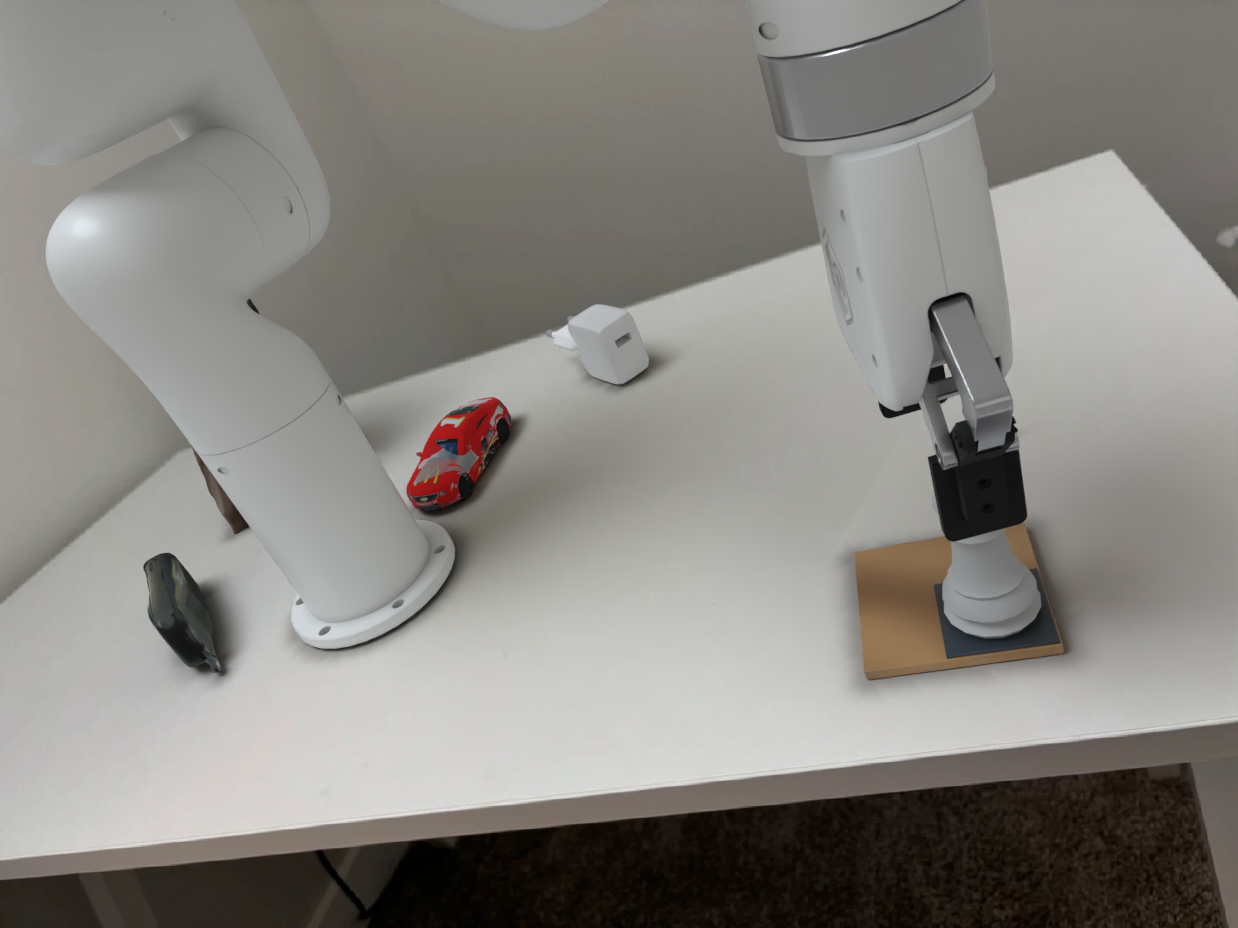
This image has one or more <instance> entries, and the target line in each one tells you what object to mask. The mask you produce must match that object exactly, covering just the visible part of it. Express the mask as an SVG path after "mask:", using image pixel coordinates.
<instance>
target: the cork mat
mask: <svg viewBox="0 0 1238 928" xmlns="http://www.w3.org/2000/svg"><path fill="white" fill-rule="evenodd" d="M1025 523H1026V522H1025V521H1024V522H1023V523H1021V524H1019V525H1015V526H1011V527H1008V528H1005V533H1006V536H1007V539H1008V541H1009V544H1010V547H1011V549H1012V552H1013V554H1014V555H1016V556H1017V557H1018V558H1019V560H1020V561H1021V562H1022V563H1023V564H1025V565H1026V567H1027V568H1028V569H1029V570H1030V572H1031V573H1032V574H1033V576H1034V577H1035V579H1036V583H1037V590H1038V591H1039V592H1040V597H1041V608H1040V610H1039V612H1038V614H1037V616H1036V618H1035V619H1034V620H1033V621H1032V622H1031V623H1030V624H1029V625H1027V626H1026V627H1025V628H1024V629H1022V630H1021V631H1020V632H1018V633H1016V634H1013V635H1010V636H1007V637H1004V638H992V639H985V638H980V637H976V636H972V635H969V634H967V633H965V632H963V631H962V630H960V629H959V628H957V627H955V626H954V625H952V624H951V623H950V621H949V619H948V618H947V616H946V615H945V613H944V601H943V599H942V587H943V581H944V579H945V578H946V576H947V574H948V569H949V568H950V566H951V564H952V546H951V542H950V541H949V540H947V539H946V537H945V535H944V536H937V537H932V538H926V539H921V540H915V541H909V542H904V543H899V544H892V545H887V546H881V547H876V548H875V547H874V548H871V549H870V548H869V549H864V550H859V551H855V552H854V554H853V555H854V567H855V578H856V579H855V580H856V590H857V591H856V592H857V602H858V603H857V604H858V613H859V626H860V638H861V650H862V662H863V674H864V676H865V679H866V680H867V681H869V680H876V679H883V678H884V679H885V678H892V677H898V676H906V675H913V674H921V673H927V672H928V673H929V672H936V671H937V672H938V671H944V670H949V669H958V668H966V667H972V666H973V667H974V666H980V665H988V664H996V663H1002V662H1003V663H1004V662H1010V661H1011V662H1012V661H1019V660H1025V659H1026V660H1027V659H1034V658H1041V657H1047V656H1055V655H1062V654H1064V653H1065V649H1064V648H1065V647H1064V643H1063V640H1062V636H1061V634H1060V631H1059V627H1058V625H1057V621H1056V618H1055V615H1054V612H1053V608H1052V605H1051V603H1050V599H1049V596H1048V593H1047V590H1046V586H1045V583H1044V581H1043V578H1042V577H1043V576H1042V574H1041V571H1040V568H1039V567H1040V566H1039V565H1038V564H1039V563H1038V562H1037V558H1036V554H1035V553H1034V549H1033V546H1032V542H1031V539H1030V536H1029V533H1028V530H1027V526H1026V524H1025Z"/></svg>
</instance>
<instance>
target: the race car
mask: <svg viewBox="0 0 1238 928" xmlns="http://www.w3.org/2000/svg"><path fill="white" fill-rule="evenodd" d="M512 422H513V419H512V416H511V414H510V412H509V410H508V408H507V406H506V405H505V404H504V403H503V402H502V401H501V399H499V398H497V397H495V396H490V397H483V398H477V399H473V400H469V401H467V402H465V403H463V404H462V405H460V406H458V407H457V408H455V409H454V408H453V409H452V410H450V411H449V412H448V413H447V414H445V416H444V417H443V418H441V419H440V421H439V422H438V423H437V424H436V426H435V427H434V428H433V429H432V431H431V432H430V434H429V436H428V438H427V440H426V442H425V444H424V445H423V446H424V447H423V448H422V449H423V450H422V452H421V451H417V452H416V454H415V455H416V456H417V457H419V461H418V463H417V465H416V467H415V469H414V471H413V472H412V474H411V476H410V479H409V480H408V482H407V484H406V487H405V488H406V489H405V491H406V496H407V498H408V500H409V502H410V503H411V504H412V506H413V507H414V509H416V510H418V511H423V512H430V511H435V510H440V509H443V508H445V507H448V506H450V505H454V503H457V502H459V501H460V500H462V499H463V500H464V499H468V498H470V497H471V496H472V494H473V489H474V486H473V483H476V481H477V480H478V478H480V475H481V474H482V473H483V471H484V469H485V468H486V466H487V465H488V464H489V463H490V460H491V459H492V457H493V456H494V454H495V452H497V450H498V448H499V447H500V445H501V444H502V442H506V441H508V439H509V437H510V428H511V427H512Z"/></svg>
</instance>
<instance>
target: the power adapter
mask: <svg viewBox="0 0 1238 928" xmlns="http://www.w3.org/2000/svg"><path fill="white" fill-rule="evenodd" d="M566 320H567V324H566V325H564V326H563V327H561V328H560V329H558V330H553V329H547V330H546V331H545V335H546V336H547V337H548V338H551V339H553V344H554V346H556V347H558V348H560V349H562V350H565V351H568V352H571V353H574V354H578V356H579V359H580V360H581V361H580V362H581V363H582V365H583V367H584V369H585V370H586V372H587V373H588V374H589V375H590V376H592V377H594V378H596V379H599V380H602V381H605V382H607V383H610V384H613V385H623V384H626V383H627V382H629V381H630V380H632V379H634V378H635V377H636V376H638V375H639V374H640V373H642V372H643V371H644V370H646V369H647V368H648V367H649V364H650V358H649V355H648V352H647V349H646V346H645V344H644V342H643V339H642V336H641V333H640V331H639V329H638V326H637V323H636V321H635V320H634V317H633V315H632V314H630V312H629V311H628V310H627V309H624V308H620V307H617V306H612V305H609V304H608V305H607V304H602V303H595V304H593V305H591V306H588V308H586V309H584V310H582V311H581V312H579V313H578V314H576V315H574V316H573V315H569V316H568V317H567V319H566Z"/></svg>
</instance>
